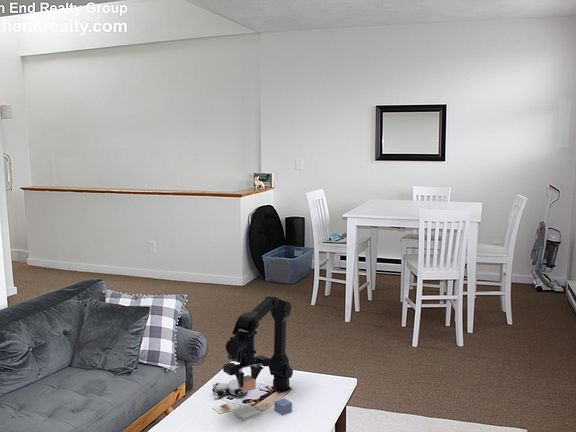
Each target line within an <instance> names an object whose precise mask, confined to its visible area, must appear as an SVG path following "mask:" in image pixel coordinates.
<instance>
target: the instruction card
mask: <svg viewBox="0 0 576 432" xmlns="http://www.w3.org/2000/svg"><path fill="white" fill-rule="evenodd" d="M237 408H240V407H239V406H238V405H237V404H235V403H233V402H232V401H231V402H226V403H223V404H221V405H218V406H215V407H214V406H213V407H212V410H214V411H215V412H216V413H218V414H219V415H222V414H225V413H228V412H232V410H234V409H237Z"/></svg>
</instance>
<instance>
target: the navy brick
mask: <svg viewBox="0 0 576 432" xmlns="http://www.w3.org/2000/svg"><path fill="white" fill-rule="evenodd" d="M273 404H274V405H273V407H274V409H273V410H274V411H275V413H277V414H279V415H281V416H284V415H287V414H290V413H291V412H293V402H292V401H290V400H288V399H286V398H280V399H278V400H275V401H274V403H273Z"/></svg>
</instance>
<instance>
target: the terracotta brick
mask: <svg viewBox="0 0 576 432" xmlns="http://www.w3.org/2000/svg"><path fill="white" fill-rule="evenodd" d="M256 381H257V378H256V379H255V378H253V377H251V375H250V374H247V375H244V379H243V386H242V388H241V387H240V386H239V383H238V388H239V389H241V390H243V391H244V392H245V393H246V392H250V391H253V390H256V387H257V385H256Z"/></svg>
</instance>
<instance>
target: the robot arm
mask: <svg viewBox="0 0 576 432" xmlns="http://www.w3.org/2000/svg"><path fill="white" fill-rule="evenodd" d="M291 310H292V305H291V303H290V301H287V300H282V299H280V298H278V297H277V296H272V295H267V296H265V297H264V299H263V300H262V301H261V302H260V303H259V304H258V305H257V306H255V307H254V308H253V309H252V310H251V311H249V312H244V313H242V314H241V315H239V316H238V318H237V320H236V322H235V325H234V327H233V329H232V330H233V331H232V333H231V334H232V335H231V336H230V337H229V340H228V341H226V343H225V350H226V352H227V358H228V360H232V362H228V363H224V364H223V366H222V371H223V372H224V373H226V374H227V375H229V376H235V378H236V379H237V380H238V383H239V386H240V387H241V388H242V386H243V379H244V376H245V373H244V371H243V369H245V368H250V376H251V377H253V378H255V379H256V380H257V378H258V376H259V374H261V371H262V370H263V369H264V368H266V367H268V369H269V374H270V376H273V380H272V386H271V389H272V390H275V391H276V392H278V393H279V394H280V393H284V392H287V391H291V390H292V386H291V387H290V379H291V378H292V377H293V374H294V370H293V368H292V367H291V366H290V360H289V357H288V356H287V353H286V339H287V320H288V319H289V317H290V315H291ZM269 312H270V315H271V317H272V319H273V321H274V328H273V329H274V332H273V333H274V334H273V354H272V356H271V357H270V358H269V357H267V356H265V355H263V354H260V355H256V356H255V354H257V350H255V335H257V334H258V332H257V329H258V327H259V326H260V321H261V320H262V319H263V318H264V317H265V316H266V315H267V314H268V313H269ZM234 361H235V362H236V363H238V364H236V363H234Z"/></svg>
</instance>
